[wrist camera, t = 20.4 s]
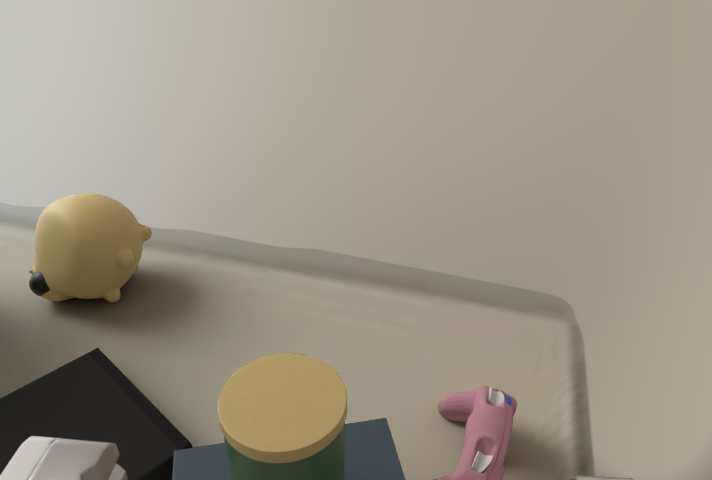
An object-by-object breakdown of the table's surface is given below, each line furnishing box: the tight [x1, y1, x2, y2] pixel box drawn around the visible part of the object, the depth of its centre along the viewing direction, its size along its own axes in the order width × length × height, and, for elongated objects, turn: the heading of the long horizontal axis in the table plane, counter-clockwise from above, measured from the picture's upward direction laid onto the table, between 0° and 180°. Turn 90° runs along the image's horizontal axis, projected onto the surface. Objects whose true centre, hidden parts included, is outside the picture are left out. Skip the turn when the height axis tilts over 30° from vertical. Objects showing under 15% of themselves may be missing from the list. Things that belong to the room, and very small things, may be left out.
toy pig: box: [29, 194, 152, 302], centre depth 59 cm, size 10×12×11 cm
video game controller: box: [434, 386, 517, 480], centre depth 42 cm, size 10×5×7 cm, turn 160°
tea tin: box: [218, 353, 347, 480], centre depth 31 cm, size 6×6×10 cm
